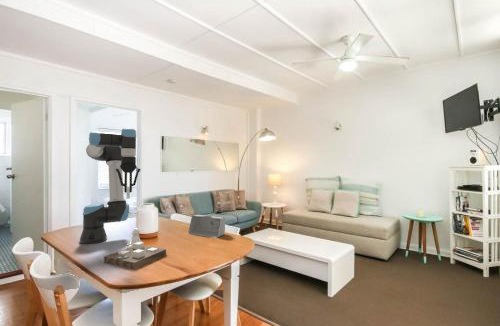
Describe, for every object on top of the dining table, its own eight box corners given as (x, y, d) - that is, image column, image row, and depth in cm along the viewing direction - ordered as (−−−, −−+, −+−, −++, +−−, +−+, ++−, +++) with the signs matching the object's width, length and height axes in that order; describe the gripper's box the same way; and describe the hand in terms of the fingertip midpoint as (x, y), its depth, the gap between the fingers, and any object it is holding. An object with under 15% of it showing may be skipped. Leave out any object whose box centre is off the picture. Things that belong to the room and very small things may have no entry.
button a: (117, 259, 142) (117, 252, 142) (123, 256, 146) (124, 250, 146) (123, 260, 140) (123, 253, 140) (129, 258, 144) (129, 251, 144)
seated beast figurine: (126, 246, 165) (127, 226, 165) (142, 244, 169) (142, 225, 169) (126, 251, 157) (126, 230, 157) (142, 249, 160) (142, 228, 160)
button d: (146, 256, 147) (146, 249, 147) (152, 253, 151) (152, 247, 151) (152, 257, 146) (152, 250, 146) (157, 254, 149) (158, 248, 149)
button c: (132, 249, 151) (132, 243, 151) (138, 247, 155) (138, 241, 155) (138, 250, 150) (138, 244, 150) (143, 248, 153) (143, 242, 153)
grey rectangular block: (229, 233, 200) (229, 215, 200) (217, 238, 185) (217, 219, 185) (201, 229, 210) (201, 212, 210) (187, 233, 196) (188, 216, 196)
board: (104, 262, 138) (104, 255, 138) (138, 249, 159) (138, 243, 159) (134, 269, 130) (134, 261, 130) (166, 254, 151) (166, 248, 151)
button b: (132, 258, 138) (132, 251, 138) (138, 255, 142) (138, 249, 142) (138, 259, 137) (138, 252, 137) (144, 257, 140) (144, 250, 140)
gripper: (115, 155, 148) (114, 199, 148) (141, 156, 153) (140, 198, 153) (116, 156, 155) (115, 197, 155) (141, 156, 160) (140, 197, 160)
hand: (128, 198), depth 154 cm, fingers closed
